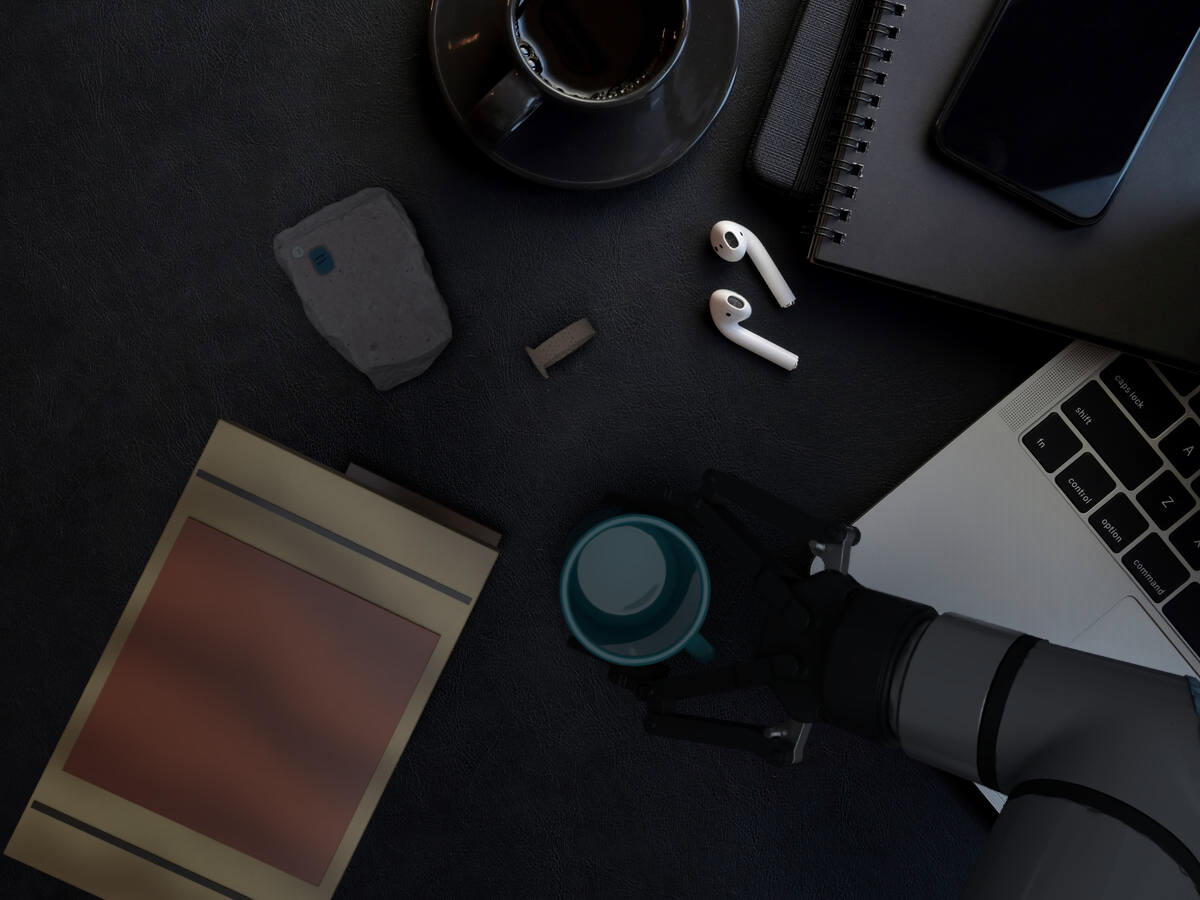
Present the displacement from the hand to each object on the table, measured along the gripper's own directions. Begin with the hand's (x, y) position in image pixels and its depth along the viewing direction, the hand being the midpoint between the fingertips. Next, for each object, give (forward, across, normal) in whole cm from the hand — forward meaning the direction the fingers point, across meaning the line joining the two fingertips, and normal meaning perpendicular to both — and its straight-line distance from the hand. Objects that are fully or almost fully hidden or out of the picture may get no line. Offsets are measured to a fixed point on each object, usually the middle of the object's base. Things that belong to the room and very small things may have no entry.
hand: (599, 570), depth 62 cm
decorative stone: (+19, +15, +10) cm, 26 cm away
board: (-4, -6, +25) cm, 26 cm away
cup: (+1, -1, -5) cm, 5 cm away
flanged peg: (+9, +14, 0) cm, 17 cm away
